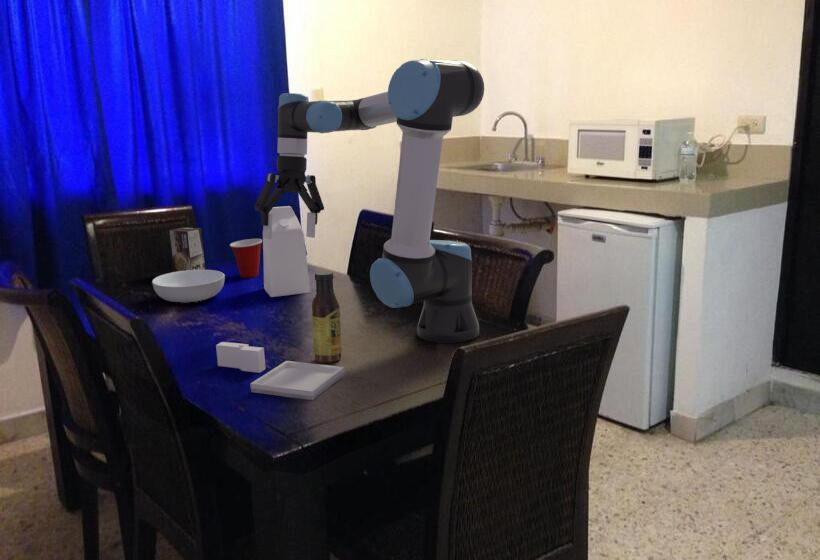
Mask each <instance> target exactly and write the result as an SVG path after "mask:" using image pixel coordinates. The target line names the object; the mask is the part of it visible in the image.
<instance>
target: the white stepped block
mask: <svg viewBox="0 0 820 560" xmlns="http://www.w3.org/2000/svg"><path fill="white" fill-rule="evenodd" d="M215 348H216V358H217V366H218V367H224V368H225V367H226V368H232V369H239V371H242V372H250V373H251V372H252V373H258V374H259V373H262V372H263V371H265V370H266V357H265V347H259V346H249V343H248V344H247V343H238V342H227V341H221V342H219V343H218V344H216V345H215Z"/></svg>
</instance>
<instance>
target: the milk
mask: <svg viewBox="0 0 820 560" xmlns="http://www.w3.org/2000/svg"><path fill="white" fill-rule="evenodd" d="M269 213H272V239H265V238H263V237H262V250H263V251H262V252H263V253H262V255H263V285H264V287H263V289H264V290H265V292H266V293H267V295H269V297H270V298H273V297H274V298H275V297H282V296H291V295H300V294H308V293H309V292H310V293H311V285H310V278H309V268H308V260H307V259H308V258H307V250H306V243H305V241H306V240H305V234H304V230H303V227H302V225H301V223H300V222H299V221H300V220H299V219H298V216H297V215H296V214H295V211H294V210H293V208H292V206H290V205H288V206H287V205H285V206H274V207H273V208H272V209H271V211H270V212H269Z"/></svg>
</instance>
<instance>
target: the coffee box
mask: <svg viewBox="0 0 820 560" xmlns="http://www.w3.org/2000/svg"><path fill="white" fill-rule="evenodd" d="M202 233H203V231H202V228H199V227H196V228H195V227H178V228H174V229H169V237H170V247H171V254H172V255H171V256H172V263H173V272H178V271H187V270H206V265H205V264H206V263H205V255H204V245H203V235H202Z"/></svg>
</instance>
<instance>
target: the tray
mask: <svg viewBox="0 0 820 560" xmlns="http://www.w3.org/2000/svg"><path fill="white" fill-rule="evenodd" d="M345 373H346V372H345V367H344V366H338V365H337V366H336V365H328V364H321V363H320V364H319V363H309V362H302V361H291V360H285V361H284V362H282V363H280V364H279V365H278V366H276V367H274V368H272V369H271V370H269V371H267V372H266V373H265V374H263V375H262V376H260V377H258V378H256V379H255V380H254V381H251V382H250V393H255V394H256V393H257V394H264V395H271V396H272V395H273V396H277V397H286V398H291V399H292V398H294V399H301V400H307V401H308V400H309V401H314V400H315V399H316V398H317V397H319V396H321V395H322V394H323V393H324V392H325V391H326V390H328V389H330V387H332V386H333V385H334V384H335V383H336V382H339V381H340V379H342V378H344V376H346V375H345Z"/></svg>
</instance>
